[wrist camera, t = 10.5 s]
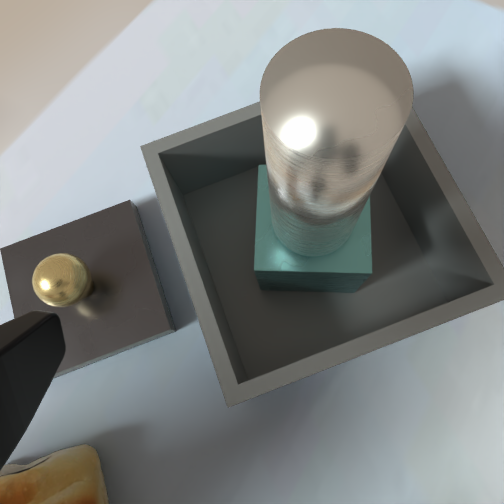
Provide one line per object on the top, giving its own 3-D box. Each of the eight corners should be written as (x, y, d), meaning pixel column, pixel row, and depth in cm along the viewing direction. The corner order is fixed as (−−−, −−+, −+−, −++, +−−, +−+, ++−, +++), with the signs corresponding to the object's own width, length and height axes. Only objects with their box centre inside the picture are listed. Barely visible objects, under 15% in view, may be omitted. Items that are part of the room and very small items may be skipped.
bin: (461, 311, 20) (518, 294, 15) (242, 397, 19) (227, 407, 15) (362, 121, 23) (383, 55, 18) (171, 193, 22) (140, 146, 18)
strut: (354, 293, 20) (451, 188, 8) (260, 290, 20) (225, 185, 8) (352, 205, 21) (435, 3, 9) (263, 204, 21) (237, 8, 10)
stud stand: (175, 331, 20) (150, 322, 17) (40, 383, 20) (-18, 387, 16) (136, 207, 22) (105, 173, 18) (12, 253, 22) (-46, 230, 18)
